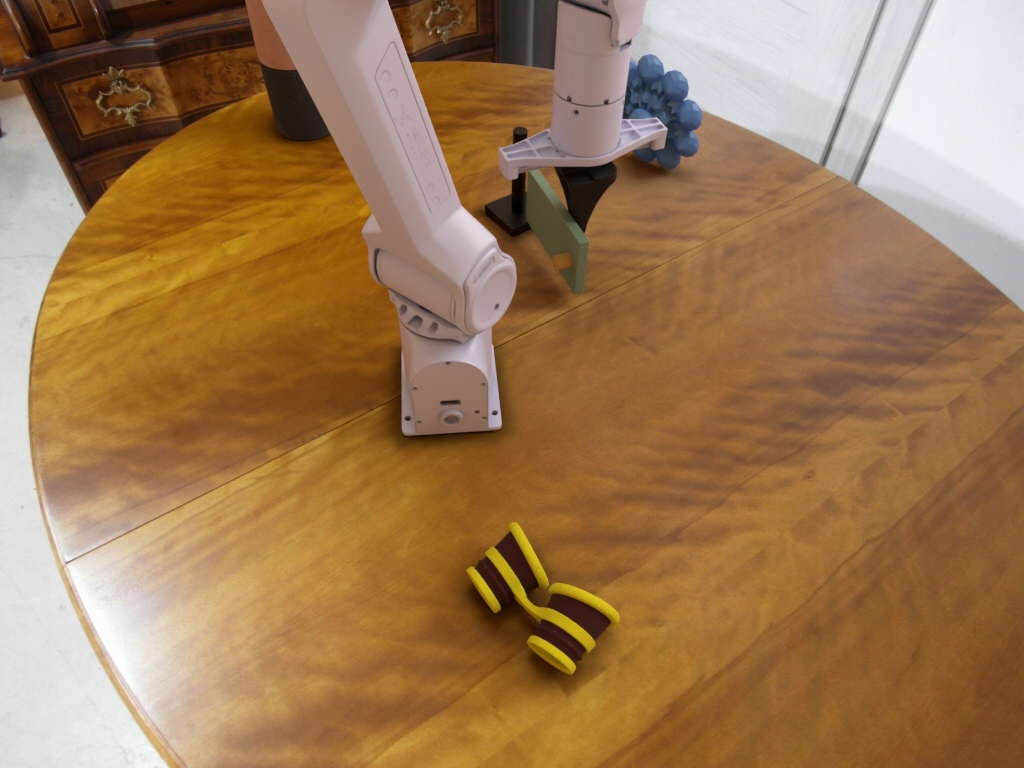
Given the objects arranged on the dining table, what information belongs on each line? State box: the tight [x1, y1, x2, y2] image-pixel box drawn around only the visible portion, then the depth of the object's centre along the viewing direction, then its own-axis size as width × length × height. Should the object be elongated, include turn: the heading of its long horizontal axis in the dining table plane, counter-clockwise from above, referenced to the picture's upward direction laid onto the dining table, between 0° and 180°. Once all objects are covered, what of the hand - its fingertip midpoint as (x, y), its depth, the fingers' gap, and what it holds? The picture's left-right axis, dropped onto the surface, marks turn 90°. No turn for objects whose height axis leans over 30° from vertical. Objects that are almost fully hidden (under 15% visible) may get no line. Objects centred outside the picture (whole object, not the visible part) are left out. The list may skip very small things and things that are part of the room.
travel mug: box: [244, 0, 331, 142], centre depth 84 cm, size 8×8×20 cm
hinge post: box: [484, 126, 532, 238], centre depth 77 cm, size 5×5×10 cm
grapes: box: [622, 53, 703, 170], centre depth 83 cm, size 12×7×12 cm, turn 54°
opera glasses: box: [465, 521, 621, 676], centre depth 51 cm, size 10×5×5 cm, turn 45°
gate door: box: [526, 169, 590, 295], centre depth 73 cm, size 12×2×6 cm, turn 21°
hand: (576, 227), depth 71 cm, fingers closed
